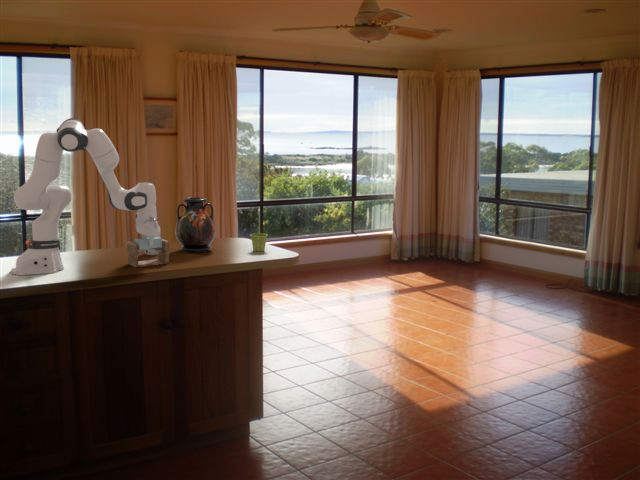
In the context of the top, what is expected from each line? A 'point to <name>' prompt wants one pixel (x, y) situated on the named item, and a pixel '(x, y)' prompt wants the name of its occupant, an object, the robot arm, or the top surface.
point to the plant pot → (258, 241)
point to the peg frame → (134, 261)
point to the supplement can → (152, 251)
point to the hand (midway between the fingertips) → (148, 244)
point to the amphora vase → (195, 226)
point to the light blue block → (143, 243)
